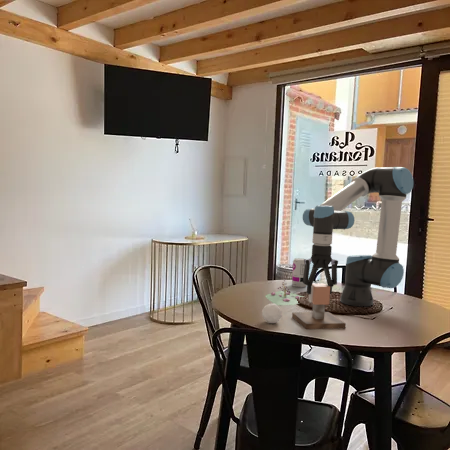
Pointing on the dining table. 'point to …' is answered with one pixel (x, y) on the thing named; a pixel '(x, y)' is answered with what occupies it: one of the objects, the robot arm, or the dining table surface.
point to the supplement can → (298, 272)
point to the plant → (283, 297)
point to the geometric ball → (271, 313)
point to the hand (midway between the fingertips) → (318, 301)
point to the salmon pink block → (321, 294)
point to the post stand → (318, 319)
